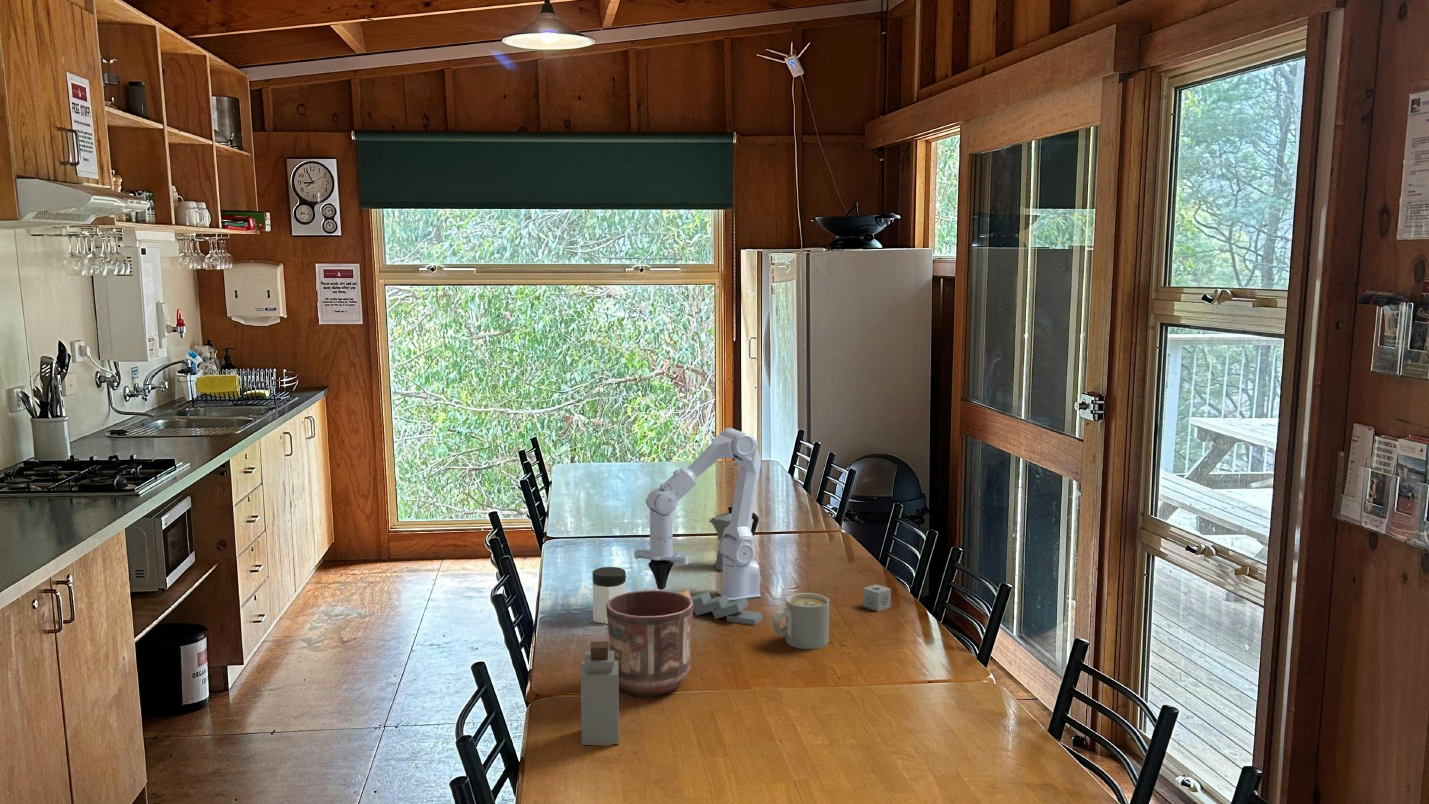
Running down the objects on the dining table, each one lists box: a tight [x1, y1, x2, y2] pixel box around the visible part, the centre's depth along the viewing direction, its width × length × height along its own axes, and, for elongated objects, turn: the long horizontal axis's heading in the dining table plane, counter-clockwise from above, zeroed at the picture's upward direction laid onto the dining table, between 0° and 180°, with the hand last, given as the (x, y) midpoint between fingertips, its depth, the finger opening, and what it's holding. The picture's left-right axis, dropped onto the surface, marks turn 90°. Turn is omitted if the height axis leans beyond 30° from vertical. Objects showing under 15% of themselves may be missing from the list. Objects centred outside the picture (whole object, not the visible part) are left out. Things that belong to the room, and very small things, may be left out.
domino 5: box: [726, 609, 764, 626], centre depth 255 cm, size 2×5×8 cm
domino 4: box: [711, 597, 749, 620], centre depth 256 cm, size 2×5×8 cm
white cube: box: [862, 583, 892, 612], centre depth 265 cm, size 5×5×5 cm
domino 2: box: [690, 590, 712, 608], centre depth 261 cm, size 2×5×8 cm
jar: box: [592, 566, 627, 625], centre depth 255 cm, size 9×8×12 cm
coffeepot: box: [708, 506, 760, 572], centre depth 297 cm, size 15×9×18 cm, turn 113°
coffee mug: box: [772, 592, 830, 650], centre depth 241 cm, size 13×10×10 cm
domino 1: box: [677, 589, 692, 598], centre depth 263 cm, size 2×5×8 cm
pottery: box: [606, 589, 694, 697], centre depth 215 cm, size 18×18×18 cm
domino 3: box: [693, 595, 730, 617], centre depth 259 cm, size 2×5×8 cm
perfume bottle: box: [580, 640, 620, 746], centre depth 192 cm, size 7×7×18 cm
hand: (661, 588), depth 264 cm, fingers closed
